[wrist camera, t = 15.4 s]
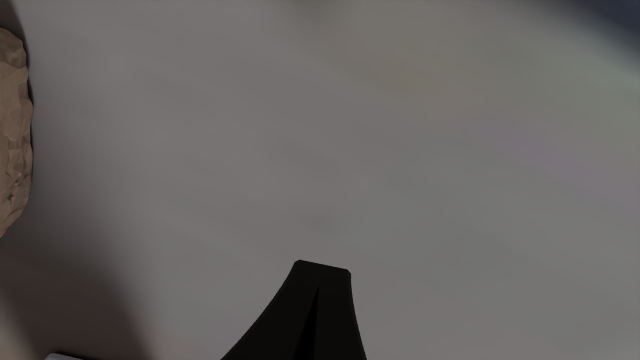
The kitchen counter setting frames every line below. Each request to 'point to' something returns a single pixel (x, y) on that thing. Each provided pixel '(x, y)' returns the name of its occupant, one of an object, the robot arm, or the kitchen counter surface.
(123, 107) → the kitchen counter surface
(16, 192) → the brick
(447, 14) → the kitchen counter surface
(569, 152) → the kitchen counter surface
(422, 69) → the kitchen counter surface
